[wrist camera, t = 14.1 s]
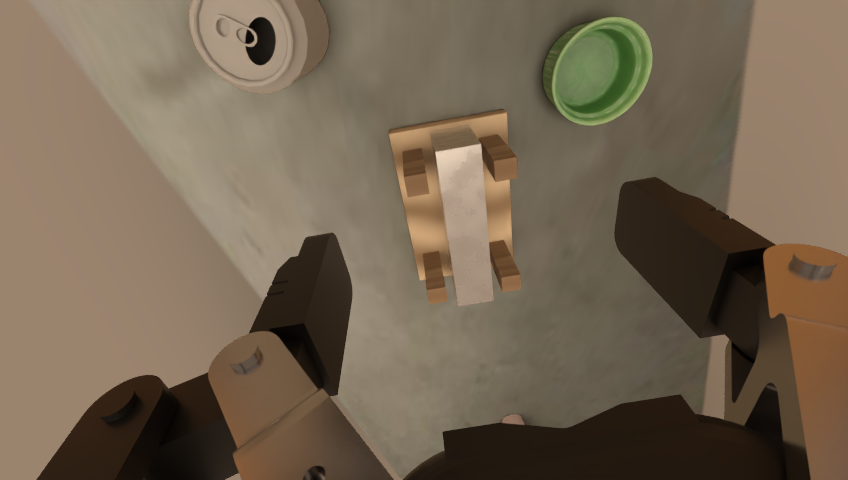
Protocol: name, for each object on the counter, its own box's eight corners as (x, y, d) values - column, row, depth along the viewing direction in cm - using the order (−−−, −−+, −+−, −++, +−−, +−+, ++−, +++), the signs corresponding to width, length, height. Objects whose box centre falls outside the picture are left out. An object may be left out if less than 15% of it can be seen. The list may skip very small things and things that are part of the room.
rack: (389, 130, 39) (387, 157, 31) (503, 109, 38) (528, 132, 31) (419, 273, 49) (423, 319, 41) (509, 258, 48) (530, 301, 41)
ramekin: (638, 79, 38) (665, 87, 34) (558, 132, 40) (575, 144, 36) (608, -7, 34) (635, -9, 30) (520, 57, 36) (535, 62, 32)
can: (318, 86, 36) (287, 116, 26) (238, 52, 34) (170, 70, 24) (341, 2, 33) (315, -2, 22) (252, -41, 31) (181, -67, 20)
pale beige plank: (429, 131, 37) (435, 151, 32) (468, 124, 37) (481, 143, 32) (450, 271, 47) (458, 306, 41) (482, 266, 47) (493, 300, 41)
